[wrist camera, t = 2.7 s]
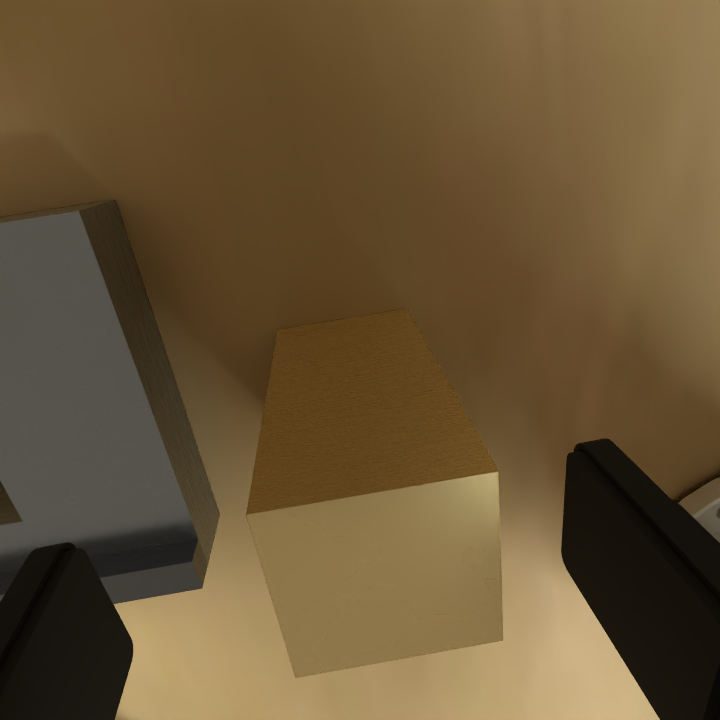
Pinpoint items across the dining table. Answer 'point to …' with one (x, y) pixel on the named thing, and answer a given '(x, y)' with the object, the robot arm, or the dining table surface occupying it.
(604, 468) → the robot arm
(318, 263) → the dining table surface
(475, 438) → the tan cardboard box
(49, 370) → the jig
